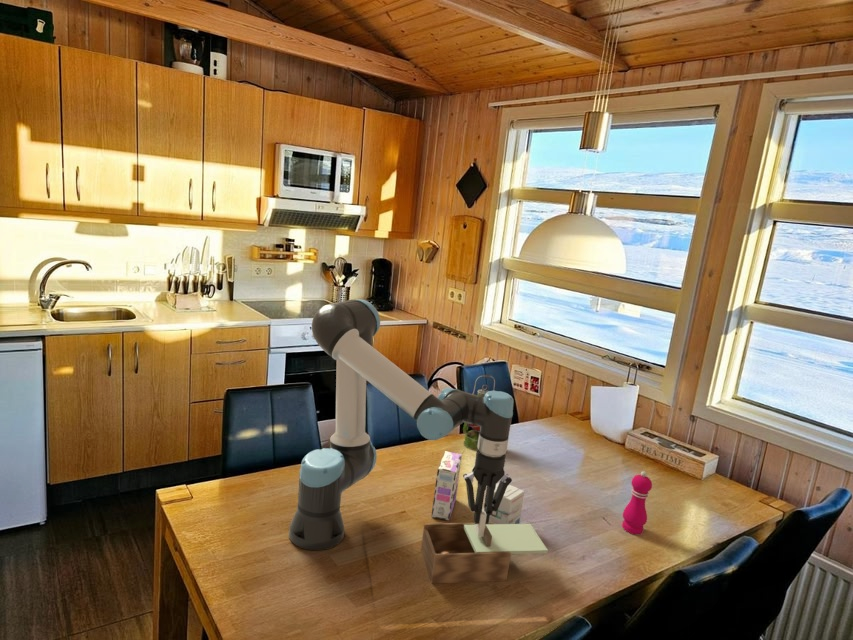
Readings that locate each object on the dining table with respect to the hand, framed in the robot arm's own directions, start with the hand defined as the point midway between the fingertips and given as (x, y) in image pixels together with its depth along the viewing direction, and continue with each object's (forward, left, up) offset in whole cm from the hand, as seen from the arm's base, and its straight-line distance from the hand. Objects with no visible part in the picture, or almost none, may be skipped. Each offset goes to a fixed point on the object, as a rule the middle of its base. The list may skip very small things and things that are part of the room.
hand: (479, 533), depth 149 cm
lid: (+7, 0, -2) cm, 8 cm away
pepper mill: (+58, +16, -10) cm, 61 cm away
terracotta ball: (-8, 0, -9) cm, 12 cm away
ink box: (+15, +20, -10) cm, 27 cm away
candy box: (-1, +29, -10) cm, 31 cm away
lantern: (+24, +76, -10) cm, 80 cm away
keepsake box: (-3, 0, -10) cm, 10 cm away
